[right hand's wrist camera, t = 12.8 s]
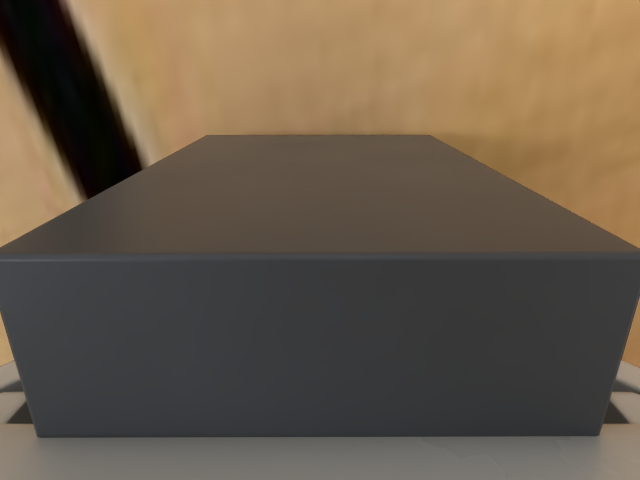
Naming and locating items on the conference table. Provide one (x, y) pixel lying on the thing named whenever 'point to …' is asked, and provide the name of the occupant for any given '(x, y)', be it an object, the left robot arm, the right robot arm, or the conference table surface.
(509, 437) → the right robot arm
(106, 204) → the box
